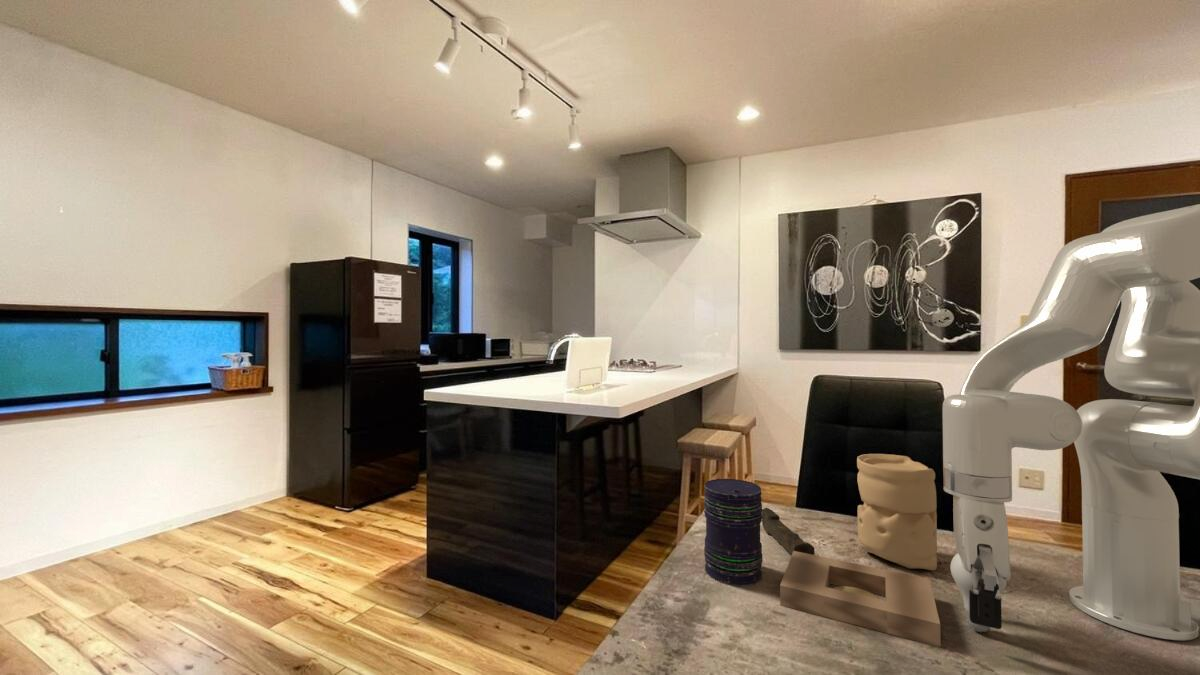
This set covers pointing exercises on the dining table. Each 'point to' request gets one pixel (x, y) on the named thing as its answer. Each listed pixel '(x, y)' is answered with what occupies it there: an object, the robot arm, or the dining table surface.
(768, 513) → the hand tool
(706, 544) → the navy ridged cylinder
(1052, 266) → the robot arm
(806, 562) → the holder
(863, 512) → the container
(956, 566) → the lightbulb
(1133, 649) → the dining table surface
